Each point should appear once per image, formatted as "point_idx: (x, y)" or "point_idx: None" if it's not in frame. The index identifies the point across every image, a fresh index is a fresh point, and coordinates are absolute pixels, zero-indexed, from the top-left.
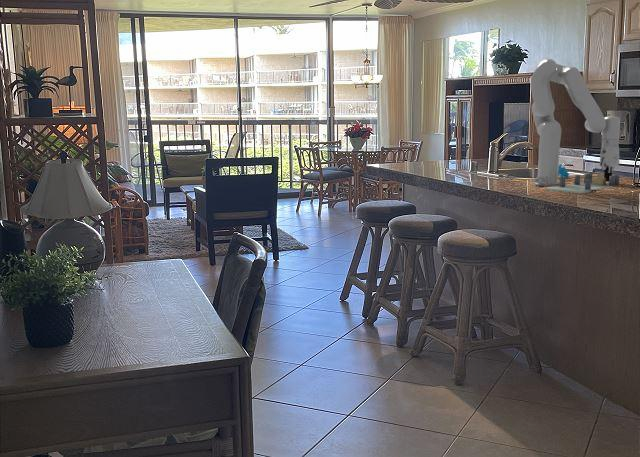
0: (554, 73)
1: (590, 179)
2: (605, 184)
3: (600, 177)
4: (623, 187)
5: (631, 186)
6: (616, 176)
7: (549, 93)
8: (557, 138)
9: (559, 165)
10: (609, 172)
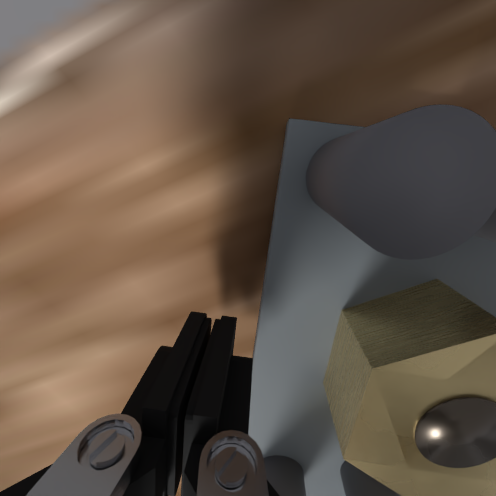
0: None
1: None
2: (444, 283)
3: (366, 441)
4: (334, 69)
5: (154, 24)
6: (483, 168)
7: None
8: None
9: None
10: (234, 448)
